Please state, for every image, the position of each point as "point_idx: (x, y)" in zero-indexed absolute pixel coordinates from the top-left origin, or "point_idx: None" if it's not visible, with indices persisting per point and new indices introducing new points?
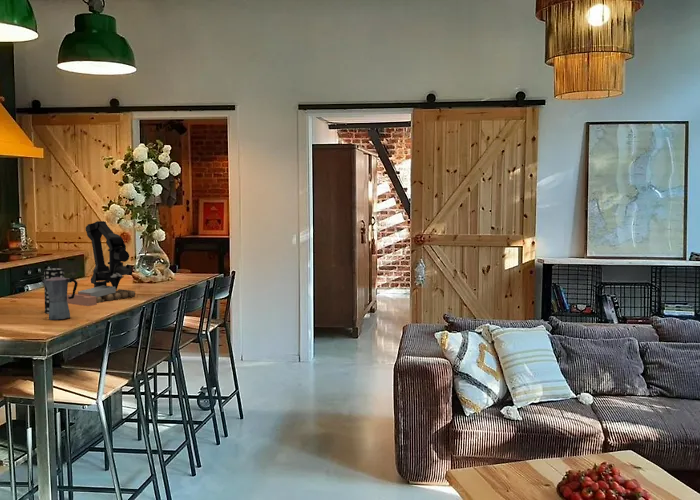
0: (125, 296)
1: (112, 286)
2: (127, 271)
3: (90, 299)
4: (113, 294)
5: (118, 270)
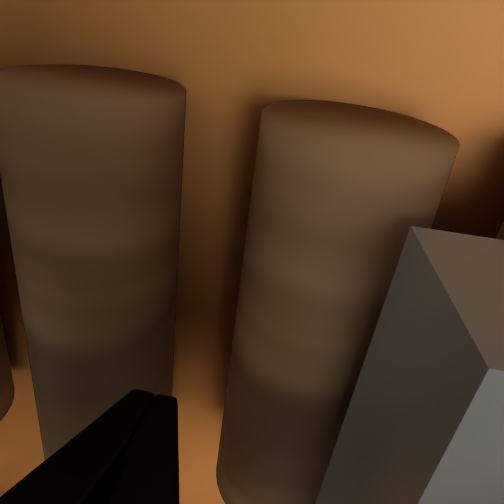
0: (117, 76)
1: (427, 502)
2: None
3: None
4: None
5: None
